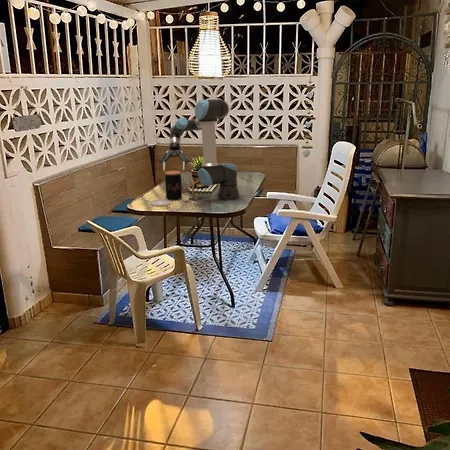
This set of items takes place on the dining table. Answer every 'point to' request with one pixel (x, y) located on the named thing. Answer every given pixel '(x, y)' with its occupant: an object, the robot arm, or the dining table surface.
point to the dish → (160, 202)
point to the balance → (186, 190)
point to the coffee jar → (173, 185)
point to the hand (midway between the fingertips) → (173, 170)
